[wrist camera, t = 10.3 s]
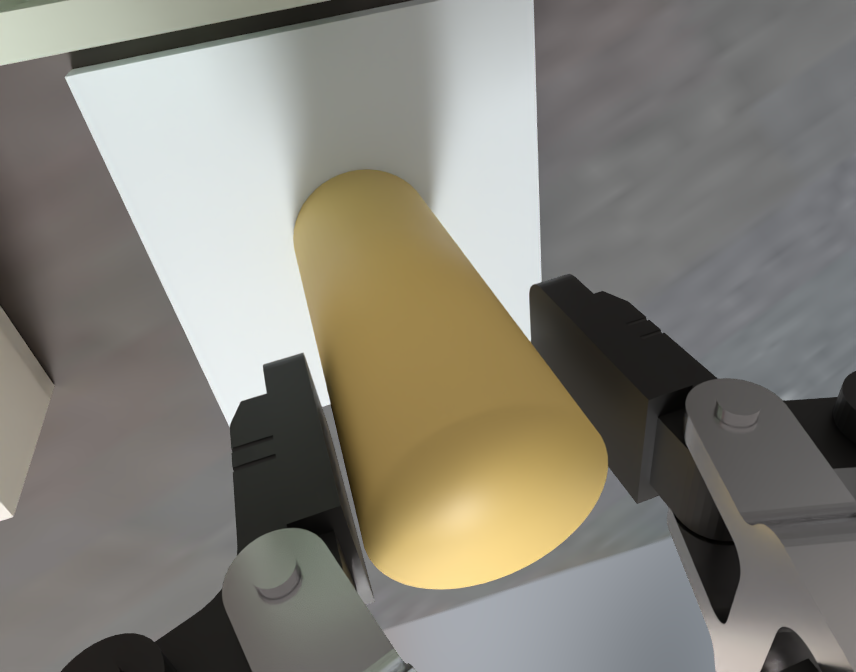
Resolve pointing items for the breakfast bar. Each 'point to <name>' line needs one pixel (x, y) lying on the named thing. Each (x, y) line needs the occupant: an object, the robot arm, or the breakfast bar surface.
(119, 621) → the breakfast bar surface
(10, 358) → the pot white
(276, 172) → the thin white panel
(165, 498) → the breakfast bar surface
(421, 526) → the peg
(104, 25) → the pot green
